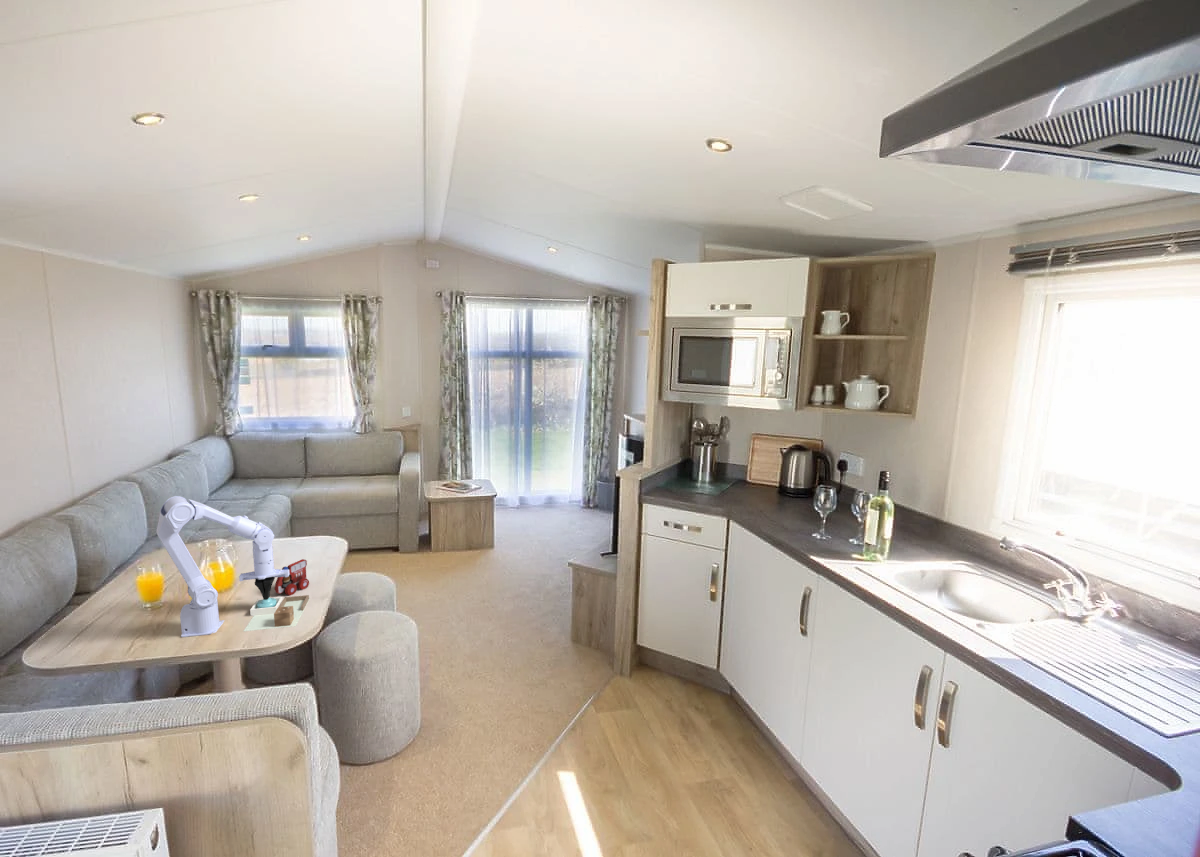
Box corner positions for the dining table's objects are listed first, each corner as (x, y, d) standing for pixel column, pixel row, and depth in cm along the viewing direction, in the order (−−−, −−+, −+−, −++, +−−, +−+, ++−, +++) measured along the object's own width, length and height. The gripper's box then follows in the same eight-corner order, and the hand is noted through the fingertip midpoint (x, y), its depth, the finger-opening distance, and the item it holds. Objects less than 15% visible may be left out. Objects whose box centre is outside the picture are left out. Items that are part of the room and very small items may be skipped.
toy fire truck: (269, 595, 200) (267, 568, 198) (300, 582, 211) (298, 556, 210) (283, 599, 197) (281, 572, 196) (313, 585, 209) (311, 559, 207)
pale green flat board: (240, 633, 175) (239, 625, 174) (260, 603, 194) (259, 596, 193) (295, 627, 179) (295, 619, 178) (310, 599, 198) (309, 592, 197)
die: (274, 626, 178) (273, 613, 177) (278, 620, 182) (277, 606, 181) (291, 625, 179) (290, 611, 178) (294, 618, 183) (293, 605, 183)
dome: (255, 612, 185) (254, 602, 185) (260, 604, 191) (259, 595, 190) (274, 610, 187) (273, 600, 186) (278, 603, 192) (278, 593, 192)
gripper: (234, 567, 180) (238, 605, 182) (284, 563, 184) (287, 601, 186) (242, 558, 187) (245, 596, 189) (289, 554, 191) (292, 591, 193)
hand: (266, 598), depth 188 cm, fingers closed, pressing on dome
